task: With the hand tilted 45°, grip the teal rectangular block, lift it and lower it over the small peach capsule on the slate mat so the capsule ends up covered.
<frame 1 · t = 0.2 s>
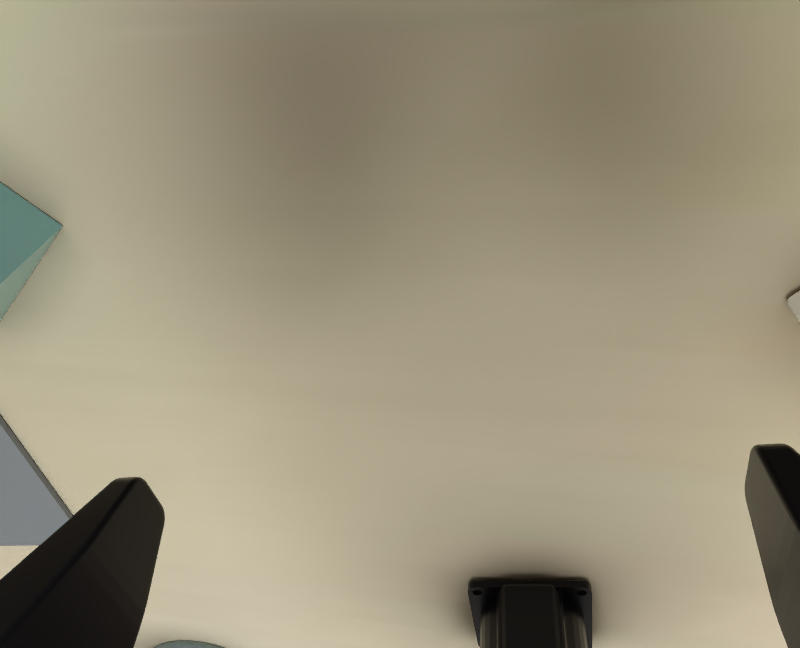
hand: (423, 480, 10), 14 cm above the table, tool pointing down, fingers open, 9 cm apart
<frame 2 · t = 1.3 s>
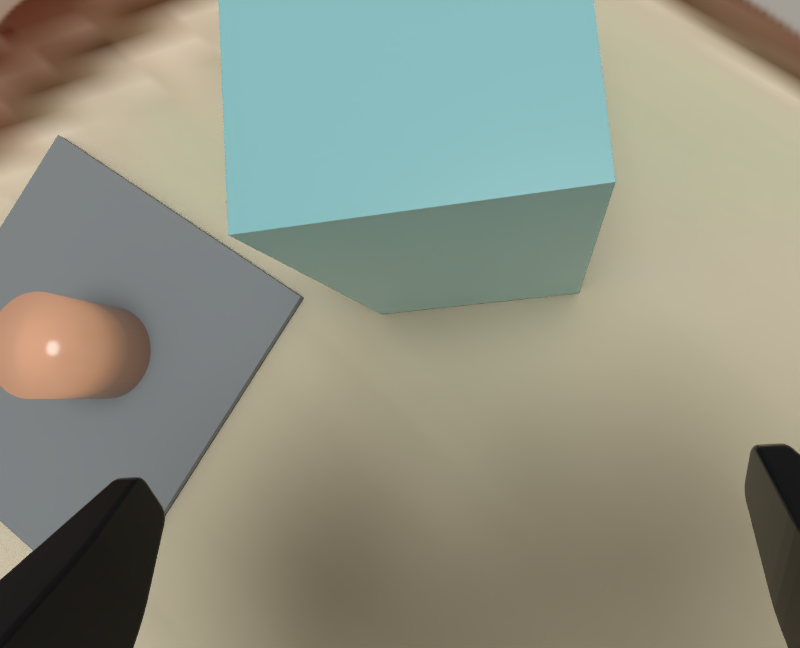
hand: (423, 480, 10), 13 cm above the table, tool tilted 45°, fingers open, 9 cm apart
teal rectangular block: (468, 208, 24), on the table
peach capsule: (109, 352, 26), resting on slate mat
slate mat: (83, 360, 27), on the table
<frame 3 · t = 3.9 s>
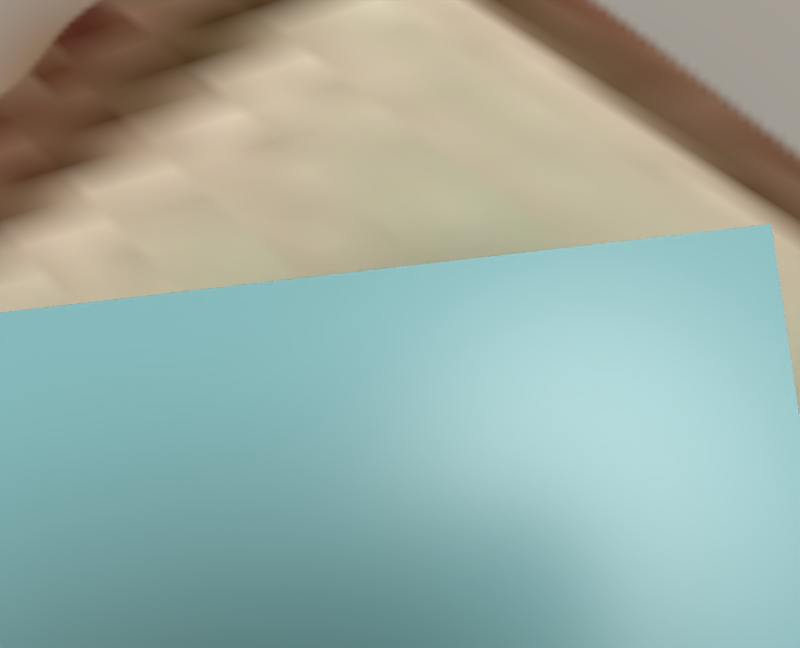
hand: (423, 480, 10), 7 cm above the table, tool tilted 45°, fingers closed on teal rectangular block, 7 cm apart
teal rectangular block: (478, 505, 16), on the table, touching gripper
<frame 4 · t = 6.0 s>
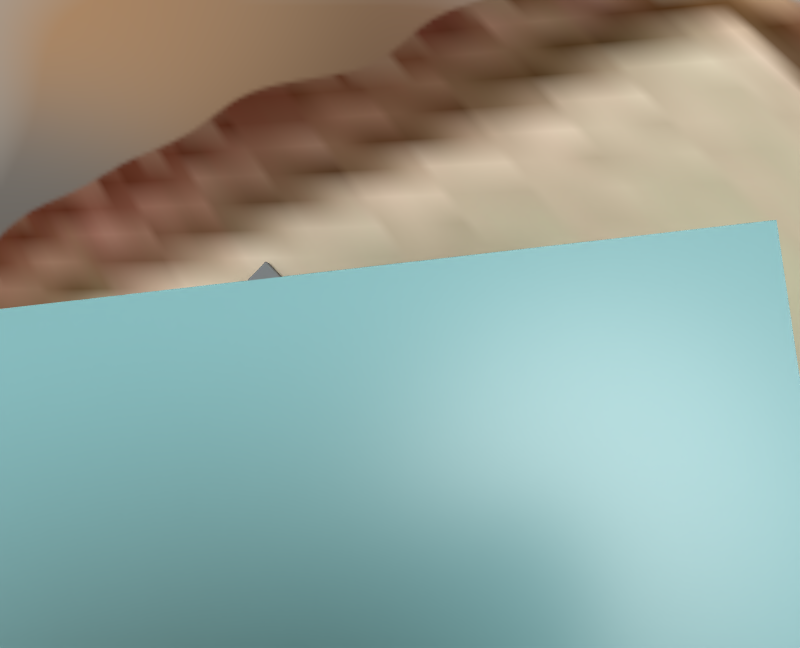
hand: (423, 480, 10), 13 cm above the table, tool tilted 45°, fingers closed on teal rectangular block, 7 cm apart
teal rectangular block: (479, 504, 16), point 6 cm above the table, touching gripper
slate mat: (249, 518, 24), on the table
when the fingers open (9 cm above the table, at t = 8.2 s): teal rectangular block drops 1 cm, resting on slate mat.
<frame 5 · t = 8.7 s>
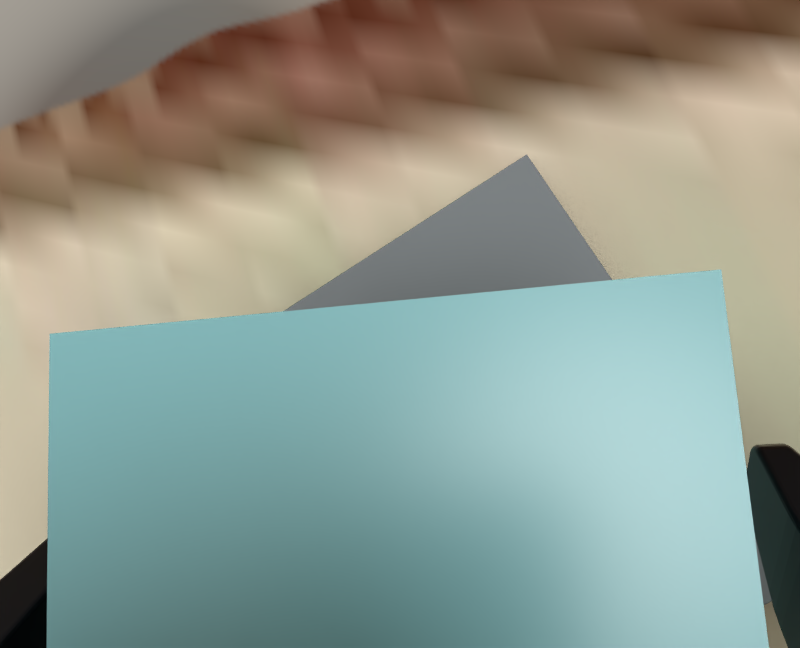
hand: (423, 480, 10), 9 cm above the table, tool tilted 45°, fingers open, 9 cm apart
teal rectangular block: (483, 496, 18), resting on slate mat
slate mat: (435, 481, 18), on the table
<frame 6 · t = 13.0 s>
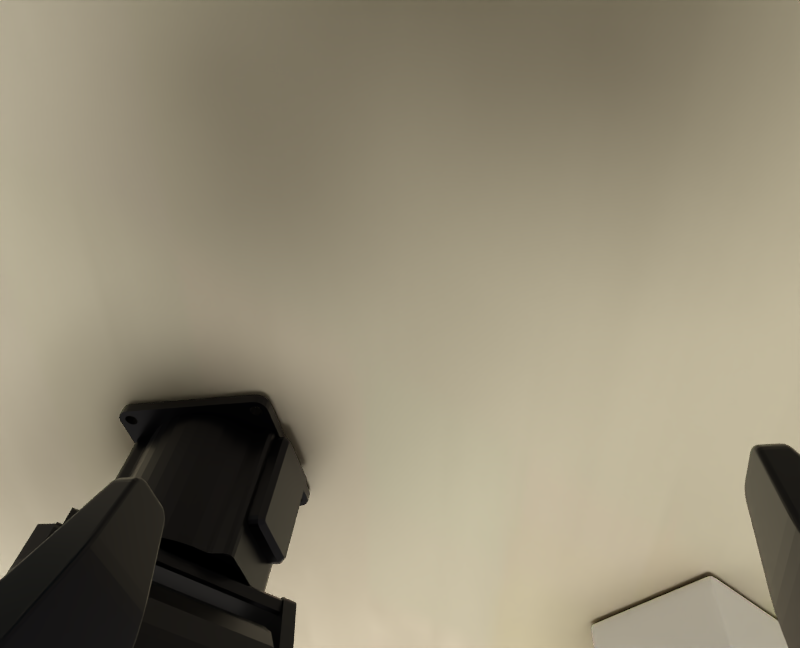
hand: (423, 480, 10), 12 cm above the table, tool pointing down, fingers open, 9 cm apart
milk carton: (690, 622, 34), on the table
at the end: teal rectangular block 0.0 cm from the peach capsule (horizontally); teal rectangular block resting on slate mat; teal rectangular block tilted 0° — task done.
